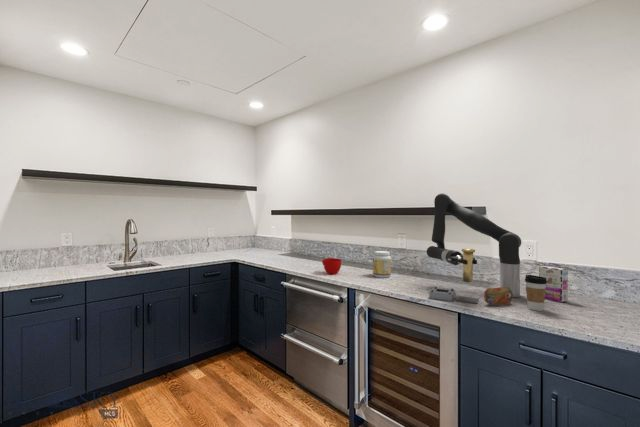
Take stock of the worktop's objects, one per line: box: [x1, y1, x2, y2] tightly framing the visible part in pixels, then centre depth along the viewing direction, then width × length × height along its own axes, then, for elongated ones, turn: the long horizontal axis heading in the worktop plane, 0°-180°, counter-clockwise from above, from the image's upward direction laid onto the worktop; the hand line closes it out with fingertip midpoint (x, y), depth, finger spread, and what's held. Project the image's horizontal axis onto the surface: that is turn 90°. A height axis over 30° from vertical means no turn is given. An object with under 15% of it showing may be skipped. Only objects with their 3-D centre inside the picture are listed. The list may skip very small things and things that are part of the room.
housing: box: [428, 286, 456, 302], centre depth 160 cm, size 11×11×4 cm
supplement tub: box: [372, 250, 392, 279], centre depth 212 cm, size 12×12×17 cm
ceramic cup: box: [321, 257, 342, 275], centre depth 222 cm, size 13×17×10 cm
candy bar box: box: [538, 265, 569, 303], centre depth 158 cm, size 11×5×16 cm, turn 21°
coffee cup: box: [524, 274, 547, 312], centre depth 142 cm, size 8×8×15 cm
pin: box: [461, 248, 476, 283], centre depth 155 cm, size 6×6×16 cm
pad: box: [456, 295, 480, 305], centre depth 155 cm, size 9×9×1 cm
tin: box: [483, 286, 513, 307], centre depth 149 cm, size 15×3×8 cm, turn 105°
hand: (471, 262), depth 152 cm, fingers closed on pin, 4 cm apart
